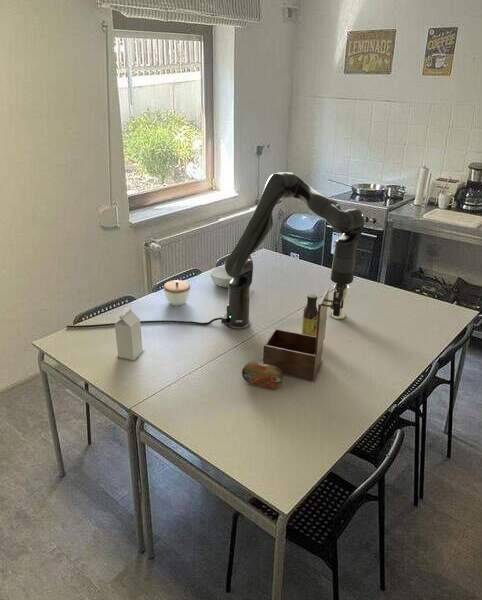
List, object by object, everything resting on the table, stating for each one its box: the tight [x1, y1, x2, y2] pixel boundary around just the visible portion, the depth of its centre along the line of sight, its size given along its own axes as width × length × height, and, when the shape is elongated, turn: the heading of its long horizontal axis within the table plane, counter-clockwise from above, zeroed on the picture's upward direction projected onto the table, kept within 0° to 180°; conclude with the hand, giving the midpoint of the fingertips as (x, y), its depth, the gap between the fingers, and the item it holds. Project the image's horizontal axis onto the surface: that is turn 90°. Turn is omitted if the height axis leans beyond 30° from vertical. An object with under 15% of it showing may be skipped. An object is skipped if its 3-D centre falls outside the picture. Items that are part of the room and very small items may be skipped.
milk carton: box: [114, 308, 143, 361], centre depth 191 cm, size 7×7×19 cm
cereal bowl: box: [210, 265, 233, 288], centre depth 256 cm, size 17×17×7 cm
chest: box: [262, 328, 324, 382], centre depth 187 cm, size 20×14×11 cm
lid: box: [315, 288, 338, 356], centre depth 176 cm, size 20×14×5 cm
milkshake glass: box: [331, 284, 350, 320], centre depth 224 cm, size 7×7×15 cm
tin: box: [241, 361, 284, 390], centre depth 177 cm, size 15×3×8 cm, turn 70°
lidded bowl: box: [163, 279, 191, 307], centre depth 235 cm, size 13×13×11 cm
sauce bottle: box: [301, 293, 318, 336], centre depth 204 cm, size 7×6×20 cm
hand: (337, 311), depth 173 cm, fingers open, 6 cm apart
